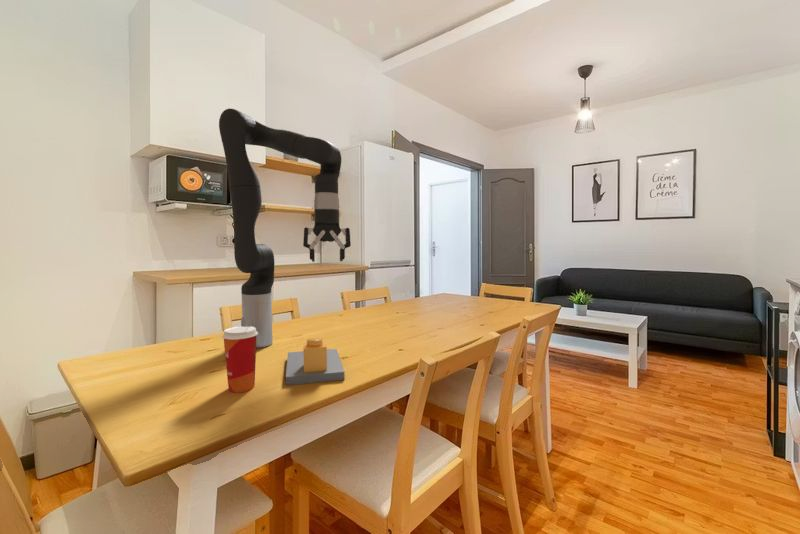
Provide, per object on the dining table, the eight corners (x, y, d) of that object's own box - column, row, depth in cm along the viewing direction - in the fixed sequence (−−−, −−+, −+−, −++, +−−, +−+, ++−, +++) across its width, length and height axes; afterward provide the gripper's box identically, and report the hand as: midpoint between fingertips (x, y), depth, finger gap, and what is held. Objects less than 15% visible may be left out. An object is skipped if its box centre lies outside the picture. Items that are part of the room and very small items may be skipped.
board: (285, 385, 88) (285, 358, 88) (288, 359, 108) (287, 337, 107) (344, 379, 92) (344, 354, 92) (336, 355, 111) (336, 334, 111)
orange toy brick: (303, 372, 92) (303, 343, 91) (303, 364, 97) (303, 337, 96) (326, 370, 93) (326, 342, 92) (325, 363, 98) (325, 336, 98)
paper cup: (233, 381, 91) (231, 325, 90) (264, 381, 91) (263, 325, 89) (216, 394, 83) (214, 333, 82) (250, 395, 83) (248, 333, 82)
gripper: (348, 210, 119) (348, 260, 120) (302, 209, 115) (303, 260, 116) (351, 208, 112) (351, 261, 113) (302, 207, 108) (303, 262, 109)
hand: (327, 261), depth 115 cm, fingers open, 8 cm apart
